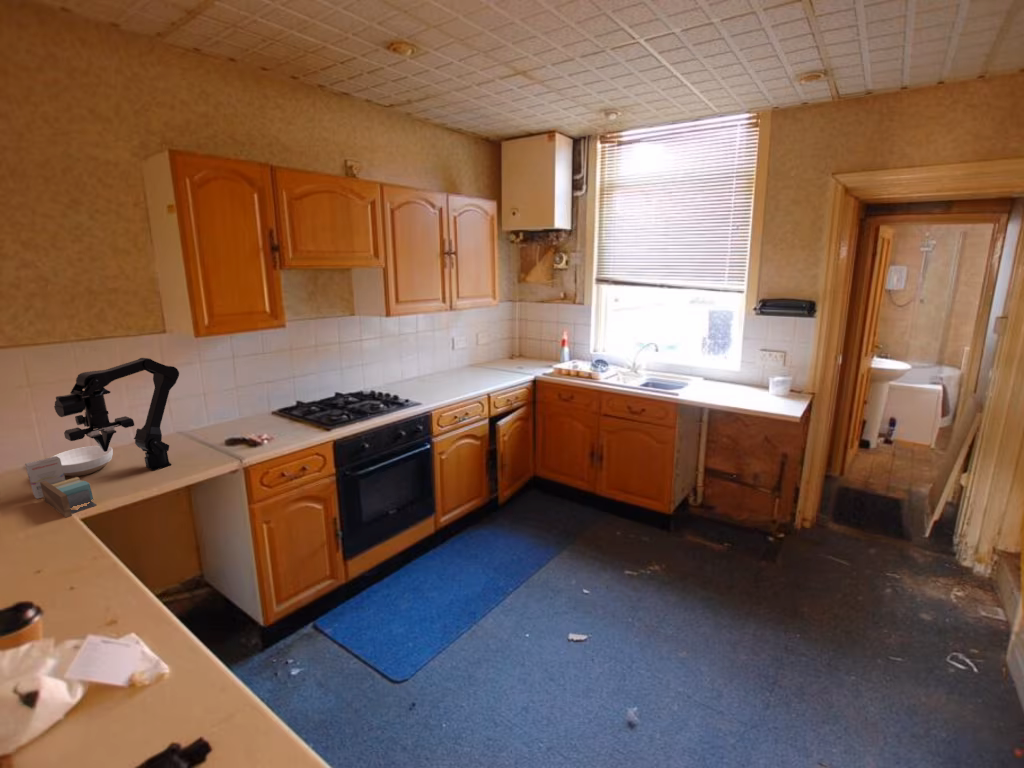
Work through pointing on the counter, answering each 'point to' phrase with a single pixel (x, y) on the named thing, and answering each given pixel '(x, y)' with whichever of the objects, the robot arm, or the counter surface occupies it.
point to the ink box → (44, 473)
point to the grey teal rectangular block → (77, 488)
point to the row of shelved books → (67, 482)
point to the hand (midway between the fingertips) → (105, 451)
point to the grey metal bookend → (80, 500)
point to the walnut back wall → (56, 498)
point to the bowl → (84, 460)
